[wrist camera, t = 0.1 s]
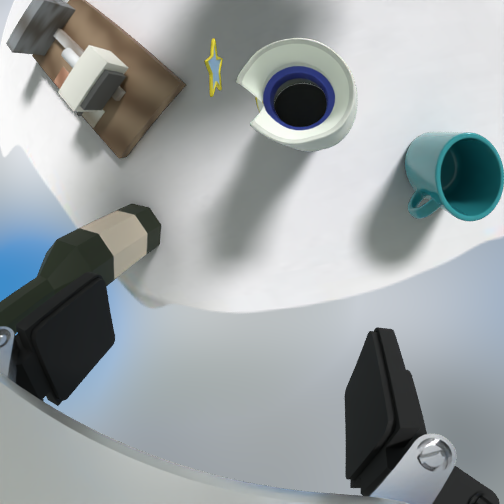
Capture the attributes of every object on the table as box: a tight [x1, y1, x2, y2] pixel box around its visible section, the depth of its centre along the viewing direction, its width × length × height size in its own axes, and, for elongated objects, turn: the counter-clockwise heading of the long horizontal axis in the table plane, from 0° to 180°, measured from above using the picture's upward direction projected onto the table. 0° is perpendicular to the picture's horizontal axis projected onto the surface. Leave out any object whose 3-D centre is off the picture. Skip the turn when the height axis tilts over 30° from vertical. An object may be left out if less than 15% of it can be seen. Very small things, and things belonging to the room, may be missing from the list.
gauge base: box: [6, 0, 186, 159], centre depth 31 cm, size 14×32×10 cm, turn 44°
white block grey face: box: [58, 45, 128, 116], centre depth 31 cm, size 10×12×5 cm
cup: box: [405, 132, 504, 221], centre depth 29 cm, size 9×12×11 cm
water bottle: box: [204, 38, 357, 152], centre depth 23 cm, size 8×9×25 cm
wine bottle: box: [0, 204, 161, 334], centre depth 31 cm, size 8×8×30 cm
